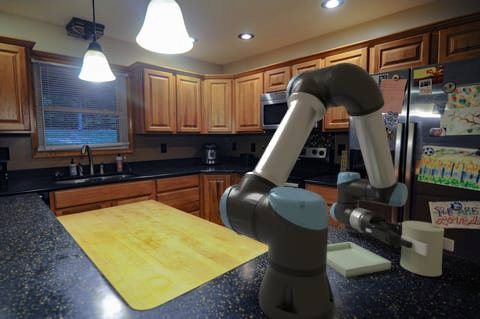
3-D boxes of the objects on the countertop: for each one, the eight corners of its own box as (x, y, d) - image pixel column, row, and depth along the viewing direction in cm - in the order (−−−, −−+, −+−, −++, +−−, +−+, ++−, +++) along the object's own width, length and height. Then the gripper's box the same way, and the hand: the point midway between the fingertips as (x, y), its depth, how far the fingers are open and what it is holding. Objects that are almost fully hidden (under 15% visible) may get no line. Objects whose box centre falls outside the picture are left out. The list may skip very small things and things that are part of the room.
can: (450, 278, 63) (453, 230, 62) (408, 274, 65) (411, 227, 64) (430, 262, 72) (432, 220, 72) (394, 258, 74) (396, 217, 73)
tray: (345, 277, 64) (345, 269, 64) (310, 253, 78) (310, 247, 78) (390, 269, 69) (391, 261, 68) (350, 247, 83) (350, 241, 83)
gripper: (391, 230, 89) (467, 257, 68) (341, 236, 82) (407, 268, 61) (392, 209, 88) (469, 229, 67) (341, 213, 81) (409, 237, 60)
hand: (439, 248), depth 64 cm, fingers closed on can, 9 cm apart
